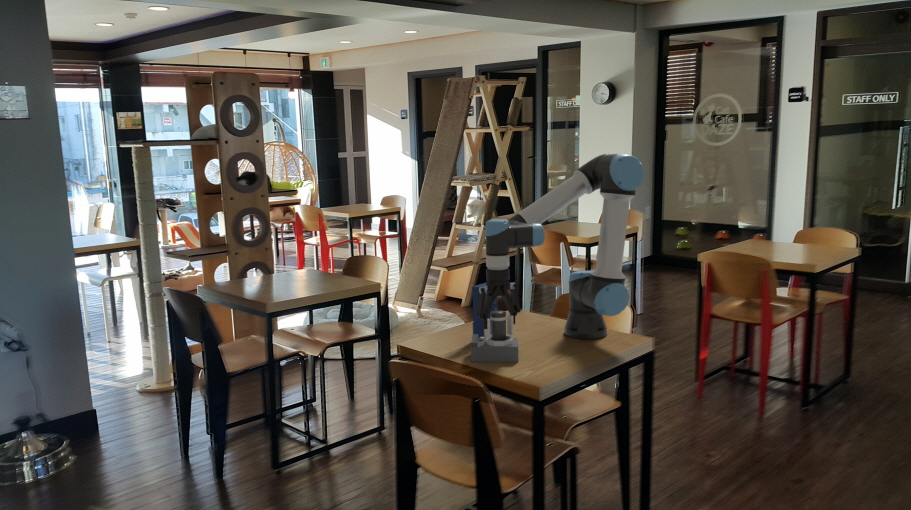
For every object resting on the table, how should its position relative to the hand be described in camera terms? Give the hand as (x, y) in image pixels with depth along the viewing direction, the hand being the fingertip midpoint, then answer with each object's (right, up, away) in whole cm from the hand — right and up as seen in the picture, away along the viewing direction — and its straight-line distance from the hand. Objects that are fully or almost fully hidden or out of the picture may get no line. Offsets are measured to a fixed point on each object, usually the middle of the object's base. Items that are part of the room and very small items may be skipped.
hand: (499, 336), depth 230 cm
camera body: (-1, -7, +1) cm, 7 cm away
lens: (0, -2, +1) cm, 2 cm away
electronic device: (-3, -4, +22) cm, 23 cm away
